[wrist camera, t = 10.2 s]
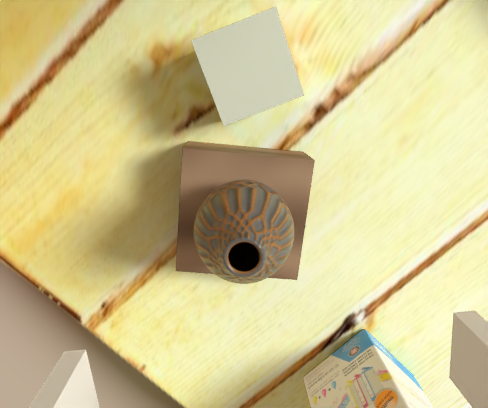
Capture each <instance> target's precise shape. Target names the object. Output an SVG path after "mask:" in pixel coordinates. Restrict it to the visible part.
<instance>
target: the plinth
mask: <svg viewBox="0 0 488 408" xmlns="http://www.w3.org/2000/svg"><path fill="white" fill-rule="evenodd" d="M314 161H315V160H313V159H312V158H311V157H309V156H308V155H307V154H306V153H304V152H300V151H289V150H278V149H268V148H257V147H246V146H236V145H225V144H214V143H204V142H193V141H188V142H187V144H186V145H185V146H184V147H183V151H182V169H181V187H180V204H179V222H178V239H177V257H176V271H183V272H196V273H210V274H214V273H213V272H212V271H210V270H209V269H208V268H207V266H206V265H205V264H204V263H203V261H202V259H201V258H200V256H199V254H198V252H197V249H196V246H195V242H194V222H195V218H196V214H197V212H198V209H199V207H200V206H201V204H202V202H203V201H204V199H205V198H206V197H207V196H208V195H209V194H210V193H211V192H212V191H213V190H215V189H216V188H217V187H219V186H221V185H223V184H225V183H227V182H231V181H235V180H253V181H257V182H260V183H263V184H265V185H267V186H269V187H270V188H272V189H273V190H275V191H276V192H277V193H278V194H279V195H280V196H281V197H282V198H283V200H284V201H285V203H286V204H287V206H288V208H289V210H290V212H291V215H292V218H293V222H294V241H293V245H292V248H291V251H290V254H289V256H288V258H287V259H286V261H285V262H284V264H283V265H282V266H281V267H280V268H279V269H278V270H277V271H276V272H275V273H274V274H272V275H271V276H269V277H268V278H280V279H293V280H297V277H298V270H299V263H300V257H301V250H302V243H303V236H304V229H305V222H306V216H307V209H308V202H309V195H310V188H311V181H312V174H313V168H314Z"/></svg>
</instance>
